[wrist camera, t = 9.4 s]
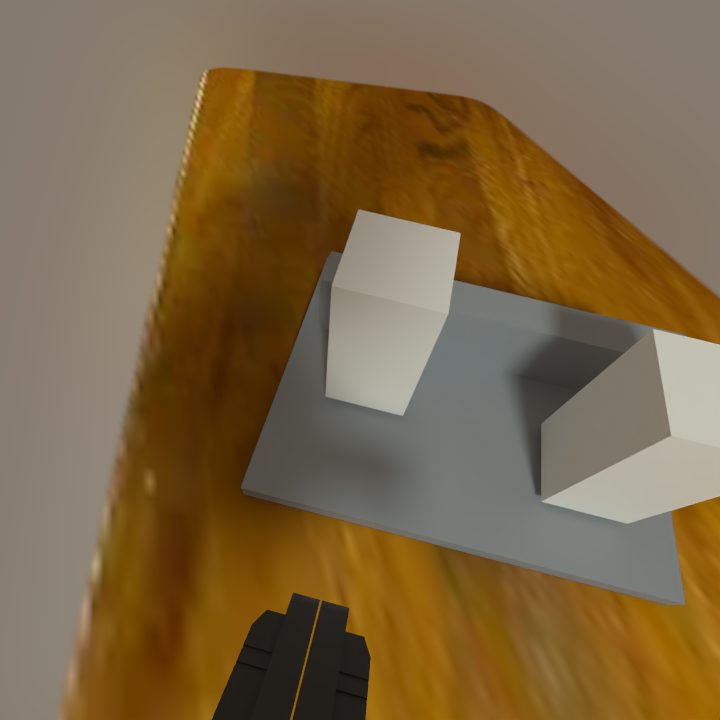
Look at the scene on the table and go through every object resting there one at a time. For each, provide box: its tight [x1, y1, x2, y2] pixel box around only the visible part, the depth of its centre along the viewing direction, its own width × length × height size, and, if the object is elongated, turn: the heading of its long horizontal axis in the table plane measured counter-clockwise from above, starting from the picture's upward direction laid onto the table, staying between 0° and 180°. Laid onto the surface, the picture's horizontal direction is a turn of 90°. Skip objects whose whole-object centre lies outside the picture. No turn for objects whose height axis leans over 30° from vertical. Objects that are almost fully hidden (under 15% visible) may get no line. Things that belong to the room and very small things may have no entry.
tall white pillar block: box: [325, 209, 461, 416], centre depth 19 cm, size 4×4×8 cm
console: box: [240, 251, 685, 605], centre depth 22 cm, size 15×20×5 cm
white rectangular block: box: [541, 329, 720, 524], centre depth 17 cm, size 4×4×8 cm
